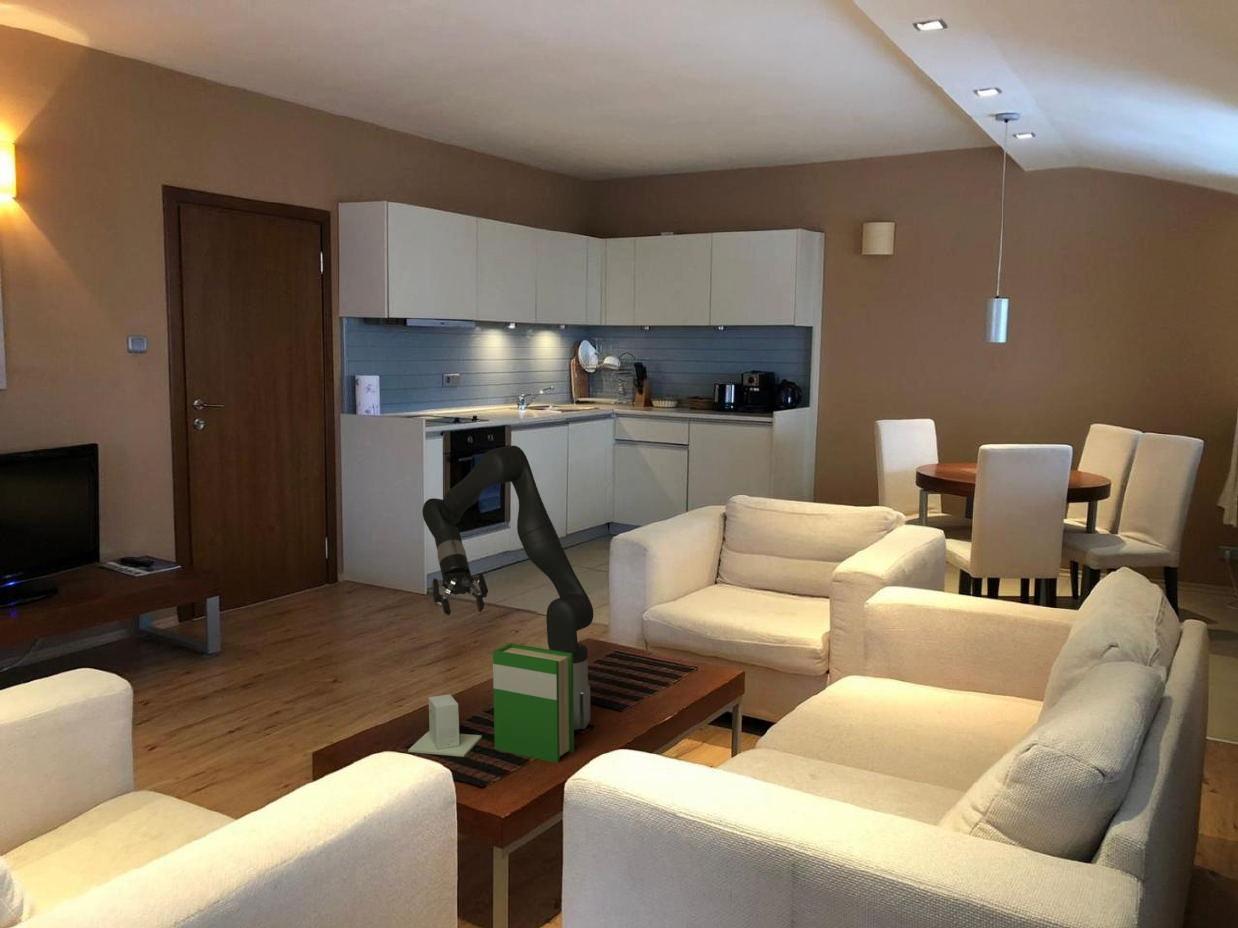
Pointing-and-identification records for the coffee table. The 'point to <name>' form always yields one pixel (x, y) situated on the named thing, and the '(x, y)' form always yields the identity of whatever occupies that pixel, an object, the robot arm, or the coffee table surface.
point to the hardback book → (533, 701)
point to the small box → (444, 721)
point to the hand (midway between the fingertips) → (465, 612)
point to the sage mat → (428, 747)
